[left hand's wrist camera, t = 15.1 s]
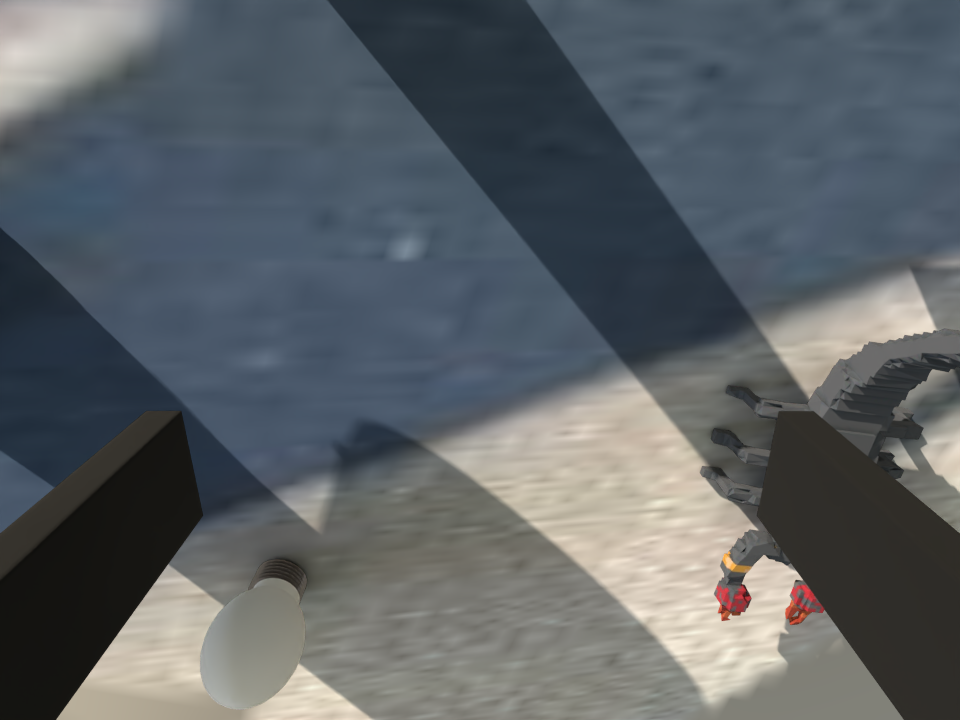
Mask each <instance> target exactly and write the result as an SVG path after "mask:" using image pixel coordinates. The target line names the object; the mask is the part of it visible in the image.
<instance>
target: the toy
mask: <svg viewBox="0 0 960 720" xmlns="http://www.w3.org/2000/svg"><path fill="white" fill-rule="evenodd" d="M956 367H960V331H957V330H950V329H943V330H940V331H933V333H927V332H924V333H923V335H920V334H914V335H913V336H907V335H905V336H904V338H903V339H901V338H899V339H897V340H896V341H895V340H889V341H888V342H887V343H884V344H883V343H876V342H869V343H868V345H865V344H864V347H863V349H862V352H858V353H857V355H854V354H853V355H852V357H851V358H849V359H847V360H843V359H840V360H839V361H838V362H837V364H836V365H835V366H834V367H833V368H832V370H831V372H830V374H829V375H828V377H827V378H826V380H825V381H824V383H823V385H822V386H821V387H817V389H816V390H815V392H814V393H813V395H812V397H811V398H810V400H809V401H808V403H807V404H796V403H784V402H780V401H775V400H769V399H764V398H760V397H758V396H756V395H755V394H754V393H753V392H752V391H751V390H749V389H748V388H744V387H736V386H728V388H727V391H726V393H727V394H730V395H732V396H734V397H736V398H739V399H742V400H744V401H745V402H746V403H747V404H748V405H749V406H750V407H751V408H752V409H753V410H754V411H755V414H756V415H757V416H758V417H762V418H772V419H776V420H777V417H778V412H779V411H814V412H815V413H817V414H818V415H819V416H820V417H821V418H823V419H824V420H825V421H826V422H827V423H829V424H830V425H831V426H832V427H833V428H834V429H836V430H837V431H838V432H839V433H840V434H842V435H843V436H844V437H845V438H846V439H848V440H849V441H850V442H851V443H852V444H854V445H855V446H856V447H857V448H858V449H860V450H861V451H862V452H863V453H864V454H865V455H867V456H868V457H869V458H870V459H871V460H873V461H874V462H875V463H876V464H877V465H879V466H880V467H881V468H882V469H883V470H885V471H886V472H887V473H888V474H889V475H891V476H892V477H893V478H894V479H897V478H901V476H902V474H903V471H904V470H903V469H901V468H900V467H899V466H898V465H896V464H895V463H894V462H893V461H891V460H892V459H893V458H894V457H895V456H894V455H893V454H892V453H891V452H889V451H887V450H881V448H882V445H883V443H884V441H885V438H886V437H894V438H905V439H919V437H920V435H921V433H922V430H923V427H921V426H919V425H918V424H916V423H914V422H913V421H911V418H912V416H913V415H914V414H913V413H912V412H911V411H910V410H908V409H904V408H896V407H895V406H897V407H898V406H899V404H900V402H901V401H902V400H905V399H906V397H907V394H908V392H909V391H910V390H912V389H914V388H915V387H916V386H917V385H918V384H921V382H922V381H926V380H927V377H928V375H929V373H930V371H931V370H932V369H935V370H940V371H945V372H949V371H950V369H955V368H956ZM711 440H712V441H713V443H716V444H720V445H723V446H727V447H729V448H730V449H731V450H733V451H734V452H735V454H736V455H737V456H738V457H739V458H740V459H741V460H742V461H743V462H745V463H746V464H752V465H759V466H766V467H767V465H768V460H769V455H770V450H765V449H760V448H754V447H750V446H745V445H743V443H741V442H740V440H739V439H738V438H737V436H736V435H735V434H734V433H732V432H731V431H729V430H721V429H714V431H713V434H712V437H711ZM700 473H701V475H702V477H706V478H710V479H713V480H716V482H717V483H718V485H719V486H720V487H721V489H722V490H723V492H724V493H725V494H726V496H727V497H728V499H729V500H730V501H734V502H739V503H743V504H749V505H755V506H759V503H760V498H761V493H762V489H763V488H757V487H754V486H750V485H745V484H739V483H734V482H733V481H732V480H731V479H729V478H728V477H727V476H726V474H725V473H724V472H723V470H722V469H721V468H714V467H706V466H702V468H701V471H700ZM763 555H766V556H767V557H768V558H769V559H774V560H775V561H778V562H782V563H784V564H785V565H788V564H790V563H791V562H790V561H789V559H788V558H787V557H786V555H785V554H784V552H783V551H782V550H781V548H780V547H779V546H778V544H777V543H776V541H775V540H774V539H773V537H772V536H771V534H769V533H768V532H762V531H756V530H749V531H748V532H745V534H744V536H743V538H742V539H739V538H738V540H737V542H736V544H735V546H734V547H732V549H731V550H730V551H729V552H728V554H724V557H723V560H722V562H721V565H720V567H721V568H722V570H723V572H724V578H722V580H721V581H719V583H718V585H717V588H716V590H715V593H714V595H715V596H716V598H717V599H718V601H719V602H720V604H721V605H720V608H719V611H718V613H721V618H722V621H726V620H730V619H728V616H729V615H730V614H731V613H732V615H740V614H741V612H745V611H746V608H748V606H749V603H750V601H751V596H750V594H749V592H748V591H747V589H746V587H745V585H742V581H743V579H744V577H745V574H746V573H747V572H748V571H749V570H750V569H751V568H752V566H753V565H754V564H755V563H756V562H757V561H758V560H759V559H760V558H761V557H762V556H763ZM790 597H791V598H792V600H791V603H790V606H789V607H788V608H787V609H786V612H785V615H786V619H788V618H789V621H790V625H796V624H799V623H801V622H802V621H803V620H804V619H805V618H806V617H807V615H809V614H810V613H812V612H818V613H823V611H824V608H823V607H822V605H821V604H820V602H819V601H818V600H817V598H816V597H815V595H814V594H813V593H812V591H811V590H810V589H809V587H808V586H807V584H806V583H805V582H804V580H803V581H800V580H795V584H794V587H793V589H792V592H791V594H790ZM797 611H799V613H798V616H796V617H792V616H793V615H794V614H795V613H796V612H797Z"/></svg>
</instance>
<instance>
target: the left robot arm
mask: <svg viewBox="0 0 960 720" xmlns="http://www.w3.org/2000/svg"><path fill="white" fill-rule="evenodd" d="M202 516H203V513H202V508H201V503H200V498H199V493H198V489H197V484H196V479H195V474H194V470H193V465H192V460H191V455H190V450H189V446H188V441H187V436H186V431H185V427H184V422H183V417H182V412H181V411H146V412H145V413H143V414H142V415H141V416H140V417H139V418H137V419H136V420H135V421H134V422H133V423H131V424H130V425H129V426H128V427H127V428H126V429H124V430H123V431H122V432H121V433H120V434H118V435H117V436H116V437H115V438H114V439H112V440H111V441H110V442H109V443H108V444H106V445H105V446H104V447H103V448H102V449H100V450H99V451H98V452H97V453H96V454H95V455H93V456H92V457H91V458H90V459H89V460H87V461H86V462H85V463H84V464H83V465H81V466H80V467H79V468H78V469H77V470H75V471H74V472H73V473H72V474H71V475H69V476H68V477H67V478H66V479H65V480H64V481H62V482H61V483H60V484H59V485H58V486H56V487H55V488H54V489H53V490H52V491H50V492H49V493H48V494H47V495H46V496H44V497H43V498H42V499H41V500H40V501H38V502H37V503H36V504H35V505H34V506H33V507H31V508H30V509H29V510H28V511H27V512H25V513H24V514H23V515H22V516H21V517H19V518H18V519H17V520H16V521H15V522H13V523H12V524H11V525H10V526H9V527H7V528H6V529H5V530H4V531H3V532H1V533H0V720H56V719H57V718H58V716H59V715H60V713H61V712H62V711H63V709H64V708H65V706H66V705H67V704H68V702H69V701H70V700H71V698H72V697H73V695H74V694H75V693H76V691H77V690H78V688H79V687H80V686H81V684H82V683H83V682H84V680H85V679H86V677H87V676H88V675H89V673H90V672H91V670H92V669H93V668H94V666H95V665H96V663H97V662H98V661H99V659H100V658H101V657H102V655H103V654H104V652H105V651H106V650H107V648H108V647H109V645H110V644H111V643H112V641H113V640H114V639H115V637H116V636H117V634H118V633H119V632H120V630H121V629H122V627H123V626H124V625H125V623H126V622H127V620H128V619H129V618H130V616H131V615H132V614H133V612H134V611H135V609H136V608H137V607H138V605H139V604H140V602H141V601H142V600H143V598H144V597H145V595H146V594H147V593H148V591H149V590H150V589H151V587H152V586H153V584H154V583H155V582H156V580H157V579H158V577H159V576H160V575H161V573H162V572H163V571H164V569H165V568H166V566H167V565H168V564H169V562H170V561H171V559H172V558H173V557H174V555H175V554H176V552H177V551H178V550H179V548H180V547H181V546H182V544H183V543H184V541H185V540H186V539H187V537H188V536H189V534H190V533H191V532H192V530H193V529H194V527H195V526H196V525H197V523H198V522H199V521H200V519H201V518H202ZM757 516H758V518H759V519H760V521H761V522H762V523H763V525H764V526H765V527H766V529H767V530H768V532H769V533H770V534H771V536H772V537H773V539H774V540H775V541H776V543H777V544H778V546H779V547H780V548H781V550H782V551H783V552H784V554H785V555H786V557H787V558H788V559H789V561H790V562H791V564H792V565H793V566H794V568H795V569H796V571H797V572H798V573H799V575H800V576H801V577H802V579H803V580H804V582H805V583H806V584H807V586H808V587H809V589H810V590H811V591H812V593H813V594H814V595H815V597H816V598H817V600H818V601H819V602H820V604H821V605H822V607H823V608H824V609H825V611H826V612H827V614H828V615H829V616H830V618H831V619H832V620H833V622H834V623H835V625H836V626H837V627H838V629H839V630H840V632H841V633H842V634H843V636H844V637H845V639H846V640H847V641H848V643H849V644H850V645H851V647H852V648H853V650H854V651H855V652H856V654H857V655H858V657H859V658H860V659H861V661H862V662H863V663H864V665H865V666H866V668H867V669H868V670H869V672H870V673H871V675H872V676H873V677H874V679H875V680H876V681H877V683H878V684H879V686H880V687H881V688H882V690H883V691H884V693H885V694H886V695H887V697H888V698H889V700H890V701H891V702H892V704H893V705H894V706H895V708H896V709H897V711H898V712H899V713H900V715H901V716H902V718H903V719H904V720H960V533H959V532H957V531H956V530H955V529H954V528H953V527H951V526H950V525H949V524H948V523H947V522H945V521H944V520H943V519H942V518H941V517H939V516H938V515H937V514H936V513H935V512H933V511H932V510H931V509H930V508H929V507H927V506H926V505H925V504H924V503H923V502H922V501H920V500H919V499H918V498H917V497H916V496H914V495H913V494H912V493H911V492H910V491H908V490H907V489H906V488H905V487H904V486H902V485H901V484H900V483H899V482H898V481H896V480H895V479H894V478H893V477H892V476H891V475H889V474H888V473H887V472H886V471H885V470H883V469H882V468H881V467H880V466H879V465H877V464H876V463H875V462H874V461H873V460H871V459H870V458H869V457H868V456H867V455H865V454H864V453H863V452H862V451H861V450H860V449H858V448H857V447H856V446H855V445H854V444H852V443H851V442H850V441H849V440H848V439H846V438H845V437H844V436H843V435H842V434H840V433H839V432H838V431H837V430H836V429H834V428H833V427H832V426H831V425H830V424H829V423H827V422H826V421H825V420H824V419H823V418H821V417H820V416H819V415H818V414H817V413H815V412H814V411H779V412H778V417H777V422H776V427H775V431H774V436H773V441H772V446H771V450H770V455H769V460H768V465H767V470H766V474H765V479H764V484H763V489H762V493H761V498H760V503H759V508H758V513H757Z"/></svg>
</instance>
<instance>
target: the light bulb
mask: <svg viewBox="0 0 960 720" xmlns="http://www.w3.org/2000/svg"><path fill="white" fill-rule="evenodd" d="M306 584H307V578H306V575H305V573H304V572H303V571H302V570H301V569H300V568H299V567H298V566H297V565H295V564H293V563H291V562H289V561H285V560H279V559H276V560H269V561H266V562H264V563H263V564H262V565H260V567H259V568H258V570H257V572H256V574H255V576H254V578H253V580H252V582H251V584H250V586H249V588H248V591H245V592H243V593H241V594H240V595H238V596H237V597H235V598H234V599H232V600H231V601H230V602H229V603H228V604H227V605H226V606H225V607H224V608H223V609H222V610H221V611H220V612H219V613H218V615H217V616H216V618H215V619H214V621H213V622H212V624H211V626H210V627H209V629H208V631H207V634H206V636H205V638H204V642H203V646H202V650H201V655H200V673H201V677H202V682H203V685H204V687H205V689H206V691H207V692H208V694H209V695H210V697H211V698H212V699H213V700H214V701H215V702H217V703H218V704H220V705H222V706H224V707H227V708H231V709H248V708H251V707H254V706H257V705H260V704H262V703H264V702H266V701H267V700H269V699H270V698H271V697H273V696H274V695H275V694H276V693H278V692H279V691H280V690H281V689H282V688H283V687H284V685H285V684H286V683H287V682H288V680H289V679H290V677H291V676H292V674H293V673H294V671H295V670H296V668H297V665H298V663H299V661H300V658H301V655H302V652H303V648H304V644H305V631H306V627H305V621H304V616H303V612H302V610H301V608H300V606H299V604H300V601H301V598H302V596H303V593H304V590H305V588H306Z"/></svg>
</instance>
